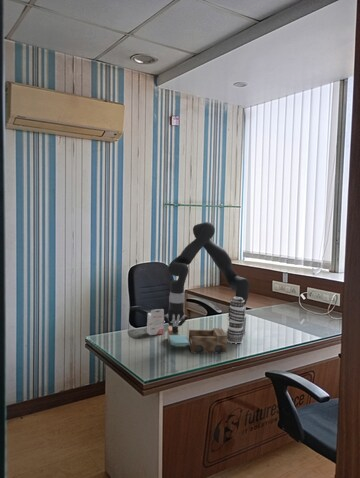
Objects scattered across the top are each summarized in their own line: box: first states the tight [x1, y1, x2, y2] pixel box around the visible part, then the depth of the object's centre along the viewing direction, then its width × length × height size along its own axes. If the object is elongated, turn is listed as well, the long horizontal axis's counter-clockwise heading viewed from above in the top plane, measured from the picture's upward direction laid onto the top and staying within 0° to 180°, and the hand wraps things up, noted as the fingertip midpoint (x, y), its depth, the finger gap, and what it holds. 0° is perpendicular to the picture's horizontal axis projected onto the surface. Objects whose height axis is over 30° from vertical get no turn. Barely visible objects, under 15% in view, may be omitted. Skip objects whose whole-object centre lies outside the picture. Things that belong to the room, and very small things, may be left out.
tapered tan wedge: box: [166, 325, 179, 344], centre depth 220 cm, size 5×7×7 cm
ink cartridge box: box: [146, 308, 165, 336], centre depth 231 cm, size 9×5×15 cm, turn 117°
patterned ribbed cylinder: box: [226, 296, 246, 345], centre depth 224 cm, size 9×9×25 cm
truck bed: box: [188, 327, 228, 354], centre depth 211 cm, size 18×14×9 cm
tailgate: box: [169, 334, 190, 347], centre depth 210 cm, size 2×12×10 cm
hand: (174, 333), depth 209 cm, fingers closed
